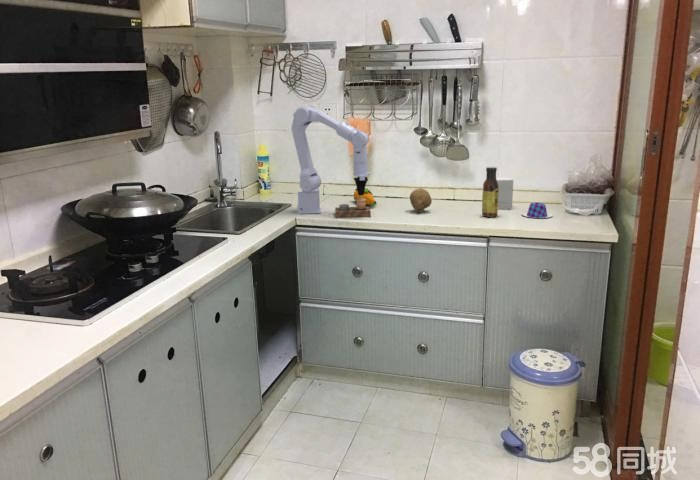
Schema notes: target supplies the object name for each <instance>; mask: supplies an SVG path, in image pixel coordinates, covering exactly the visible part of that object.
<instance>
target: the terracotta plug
mask: <svg viewBox="0 0 700 480" xmlns="http://www.w3.org/2000/svg"><path fill="white" fill-rule="evenodd" d="M355 201H356V207H357V209H358V210H364V209H365V207H366V204H365V201H366V199H364V198H359V199H356V200H355Z"/></svg>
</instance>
